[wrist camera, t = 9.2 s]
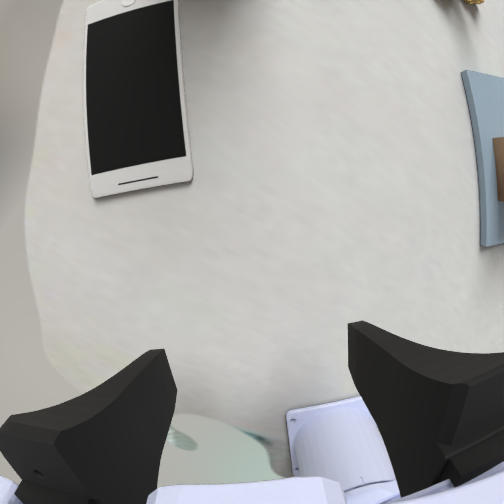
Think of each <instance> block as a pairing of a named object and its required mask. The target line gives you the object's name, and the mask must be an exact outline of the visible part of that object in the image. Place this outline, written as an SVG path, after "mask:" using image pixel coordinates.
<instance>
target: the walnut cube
mask: <svg viewBox="0 0 504 504" xmlns="http://www.w3.org/2000/svg"><path fill="white" fill-rule="evenodd" d="M492 139H493V147H494V155H495V165H496V177H497V194H498V201H501V202H504V137H498V138H492Z"/></svg>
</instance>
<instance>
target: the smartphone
mask: <svg viewBox="0 0 504 504" xmlns="http://www.w3.org/2000/svg"><path fill="white" fill-rule="evenodd" d="M83 105H84V127H85V142H86V154H87V165H88V174H89V183H90V190H91V193H92V196H93V197H94V198H98V197H103V196H108V195H113V194H118V193H123V192H128V191H133V190H139V189H144V188H150V187H155V186H161V185H167V184H173V183H179V182H186V181H190V180H192V178H193V163H192V154H191V146H190V137H189V128H188V118H187V108H186V98H185V87H184V76H183V64H182V51H181V38H180V22H179V5H178V0H103V1H100V2H98V3H95V4H92V5H90V6H89V7H88V8H87V11H86V20H85V34H84V55H83Z"/></svg>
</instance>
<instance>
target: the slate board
mask: <svg viewBox="0 0 504 504" xmlns="http://www.w3.org/2000/svg"><path fill="white" fill-rule="evenodd" d="M461 75H462V79H463V83H464V87H465V91H466V96H467V100H468V105H469V111H470V116H471V122H472V128H473V134H474V141H475V148H476V157H477V166H478V177H479V192H480V218H481V241H480V245H482V246H485V247H488V246H493V245H498V244H502V243H504V202H501V201H498V194H497V177H496V165H495V155H494V147H493V139H492V138H498V137H504V78H501V77H497V76H492V75H488V74H484V73H479V72H474V71H469V70H465V71H463V72H461Z"/></svg>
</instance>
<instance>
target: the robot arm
mask: <svg viewBox="0 0 504 504" xmlns="http://www.w3.org/2000/svg"><path fill="white" fill-rule="evenodd" d="M348 367H349V370H350V373H351V376H352V379H353V381H354V384H355V386H356V388H357V390H358V392H359V394H360V396H358V397H354V398H350V399H345V400H341V401H336V402H332V403H327V404H322V405H316V406H311V407H305V408H300V409H293V410H289V411H288V412H287V413H286V420H287V428H288V436H289V444H290V453H291V461H292V469H293V475H294V476H295V477H289V478H282V479H274V480H266V481H255V482H243V483H227V484H180V485H171V486H163V487H159V488H157V481H158V473H159V466H160V459H161V455H162V451H163V447H164V444H165V441H166V437H167V434H168V431H169V427H170V424H171V420H172V417H173V413H174V410H175V403H176V395H177V388H176V385H175V382H174V379H173V376H172V372H171V369H170V366H169V363H168V360H167V356H166V353H165V350H164V349H156V350H149V351H147V352H146V353H144V354H143V355H141V356H140V357H139V358H137V359H136V360H135V361H133V362H132V363H131V364H129V365H128V366H127V367H125V368H124V369H123V370H121V371H120V372H118V373H117V374H116V375H114V376H113V377H111V378H110V379H108V380H107V381H105V382H104V383H102V384H101V385H99V386H97V387H96V388H94V389H92V390H90V391H88V392H86V393H85V394H83V395H81V396H78V397H76V398H74V399H71V400H69V401H66V402H64V403H61V404H59V405H56V406H52V407H50V408H46V409H42V410H38V411H34V412H28V413H22V414H16V415H11V416H10V417H9V418H8V419H7V420H6V422H5V423H4V424H3V425H2V426H1V428H0V451H1V452H2V454H3V456H4V457H5V458H6V460H7V461H8V462H9V464H10V465H11V466H12V468H13V469H14V470H15V471H16V473H17V474H18V475H19V476H20V478H21V479H23V480H22V481H21V483H20V484H19V485H18V484H16V483H15V482H14V481H12V480H10V479H7V478H5V477H2V476H0V504H504V352H503V353H490V354H476V353H460V352H453V351H446V350H441V349H436V348H432V347H428V346H424V345H421V344H418V343H415V342H412V341H409V340H407V339H404V338H401V337H399V336H397V335H394V334H392V333H390V332H387V331H385V330H383V329H381V328H379V327H377V326H374V325H372V324H370V323H368V322H365V321H359V322H354V323H349V324H348ZM291 419H294V420H291ZM377 427H378V429H379V431H380V433H379V431H378V429H377ZM380 434H381V435H380ZM381 436H382V437H381Z"/></svg>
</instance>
